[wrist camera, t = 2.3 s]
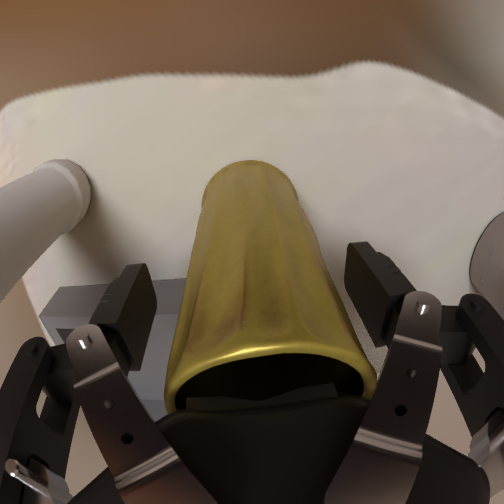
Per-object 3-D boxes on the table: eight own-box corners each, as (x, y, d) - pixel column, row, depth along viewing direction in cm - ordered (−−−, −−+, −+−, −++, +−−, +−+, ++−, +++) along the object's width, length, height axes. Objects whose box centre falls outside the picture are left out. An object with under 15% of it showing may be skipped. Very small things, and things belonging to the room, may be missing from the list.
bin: (241, 273, 21) (242, 309, 17) (257, 396, 29) (259, 427, 25) (59, 287, 21) (38, 316, 17) (121, 396, 29) (114, 423, 25)
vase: (261, 262, 21) (289, 465, 8) (185, 219, 19) (116, 422, 6) (315, 194, 18) (436, 371, 6) (235, 140, 17) (226, 265, 4)
